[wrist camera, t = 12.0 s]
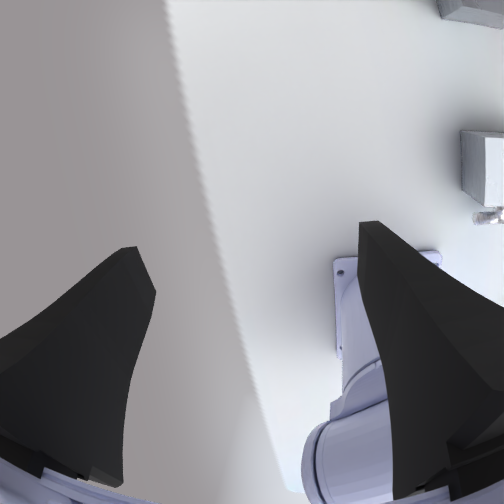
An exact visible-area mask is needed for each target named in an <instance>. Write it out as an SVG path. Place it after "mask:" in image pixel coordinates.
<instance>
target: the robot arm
mask: <svg viewBox="0 0 504 504" xmlns="http://www.w3.org/2000/svg"><path fill="white" fill-rule="evenodd" d="M435 262H437V265H435V264H434V263H435ZM441 265H442V255H441V254H440V252H439V251H425V252H418V251H416V250H415V249H414V248H413V247H411V246H410V245H409V244H407V243H406V242H405V241H404V240H402V239H401V238H400V237H399V236H398V235H396V234H395V233H394V232H392V231H391V230H390V229H389V228H387V227H386V226H385V225H383V224H382V223H381V222H379V221H369V222H359V244H358V257H350V258H339V259H336V260H335V261H334V262H333V274H334V290H335V310H336V339H337V358H338V359H340V360H342V396H341V397H340V398H338V399H337V400H335V401H333V402H331V404H330V421H327V422H324V423H321V424H319V425H318V426H316V427H315V428H314V429H313V430H312V431H311V433H310V434H309V436H308V438H307V440H306V443H305V446H304V450H303V455H302V462H301V476H302V482H303V487H304V490H305V493H306V495H307V497H308V499H309V501H310V503H311V504H504V308H503V307H502V306H500V305H498V304H496V303H494V302H493V301H491V300H489V299H487V298H485V297H483V296H482V295H480V294H478V293H477V292H475V291H473V290H472V289H470V288H469V287H467V286H465V285H464V284H462V283H461V282H459V281H458V280H456V279H455V278H453V277H452V276H450V275H449V274H447V273H446V272H444V271H443V270H442V269H441ZM339 270H343V271H344V272H343V273H342V274H338V273H337V272H338V271H339ZM155 296H156V290H155V288H154V286H153V283H152V281H151V279H150V277H149V275H148V272H147V270H146V268H145V265H144V263H143V261H142V258H141V256H140V254H139V251H138V249H137V246H135V247H126V248H121V249H120V250H118V251H116V252H115V253H113V254H112V255H111V256H109V257H108V258H107V259H105V260H104V261H103V262H102V263H100V264H99V265H98V266H97V267H96V268H94V269H93V270H92V271H91V272H90V273H88V274H87V275H86V276H85V277H84V278H82V279H81V280H80V281H79V282H78V283H77V284H75V285H74V286H73V287H72V288H71V289H69V290H68V291H67V292H66V293H65V294H63V295H62V296H61V297H60V298H58V299H57V300H56V301H55V302H54V303H52V304H51V305H50V306H49V307H47V308H46V309H45V310H43V311H42V312H40V313H39V314H38V315H37V316H35V317H34V318H32V319H31V320H29V321H28V322H27V323H25V324H23V325H22V326H20V327H19V328H17V329H15V330H14V331H12V332H11V333H9V334H8V335H6V336H4V337H2V338H1V339H0V504H82V503H83V504H160V503H155V502H151V501H146V500H142V499H137V498H133V497H129V496H125V495H122V494H118V493H115V492H111V491H108V490H104V489H101V488H98V487H95V486H92V485H89V484H86V483H83V482H81V481H78V480H77V478H80V479H83V480H86V481H88V480H92V481H95V482H98V483H101V484H104V485H108V486H111V487H114V488H116V487H119V486H120V485H122V484H123V459H122V458H123V457H122V450H123V430H124V420H125V411H126V404H127V398H128V392H129V386H130V381H131V378H132V374H133V370H134V367H135V364H136V360H137V358H138V355H139V351H140V349H141V346H142V343H143V340H144V337H145V334H146V331H147V328H148V325H149V322H150V319H151V316H152V311H153V306H154V301H155ZM80 502H81V503H80Z"/></svg>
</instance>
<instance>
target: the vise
mask: <svg viewBox="0 0 504 504" xmlns="http://www.w3.org/2000/svg"><path fill="white" fill-rule="evenodd" d="M436 1H437V4H438V7H439V11H440V14H441V18H442V19H444V20H452V21H459V22H466V23H472V24H477V25H483V26H488V27H493V28H497V29H504V0H436ZM460 135H461V156H462V191H464V192H465V193H466V194H468V195H469V196H471V197H472V198H473V199H475V200H476V201H477V202H479V203H480V204H481V205H482V206H484V207H493V212H474V213H473V215H472V220H473V223H474V225H483V224H499V223H503V224H504V133H500V132H483V131H460Z"/></svg>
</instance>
